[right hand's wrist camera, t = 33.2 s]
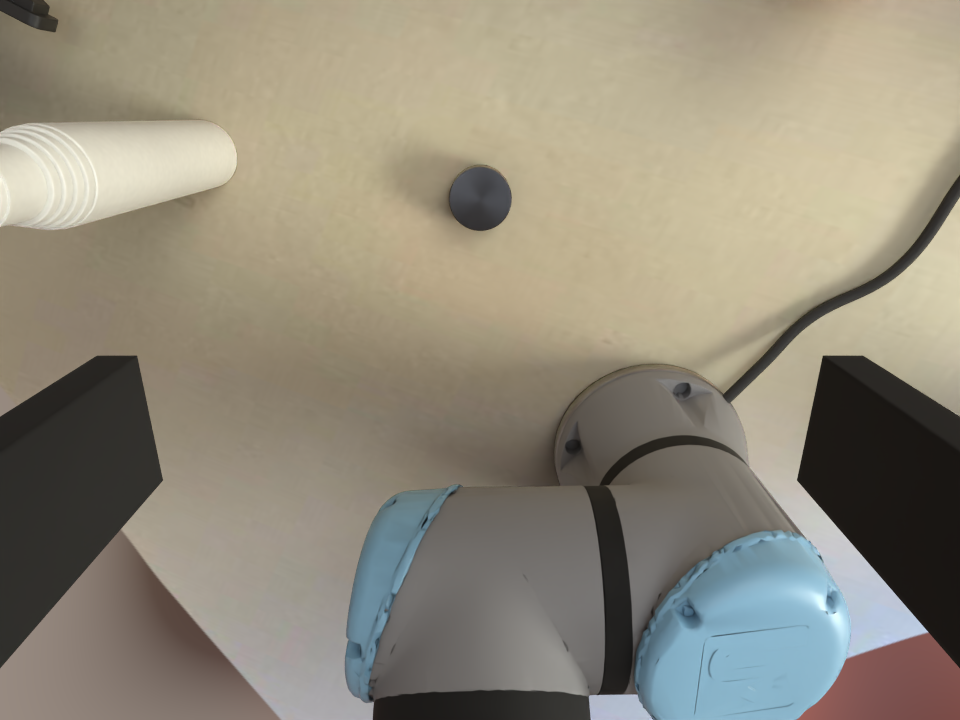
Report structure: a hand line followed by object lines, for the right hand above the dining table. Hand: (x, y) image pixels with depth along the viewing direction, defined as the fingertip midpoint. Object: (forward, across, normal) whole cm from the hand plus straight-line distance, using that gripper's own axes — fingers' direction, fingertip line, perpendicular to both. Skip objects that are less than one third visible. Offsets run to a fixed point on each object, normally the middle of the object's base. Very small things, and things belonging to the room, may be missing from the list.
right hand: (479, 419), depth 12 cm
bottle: (+36, +19, -3) cm, 41 cm away
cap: (+34, 0, 0) cm, 34 cm away
